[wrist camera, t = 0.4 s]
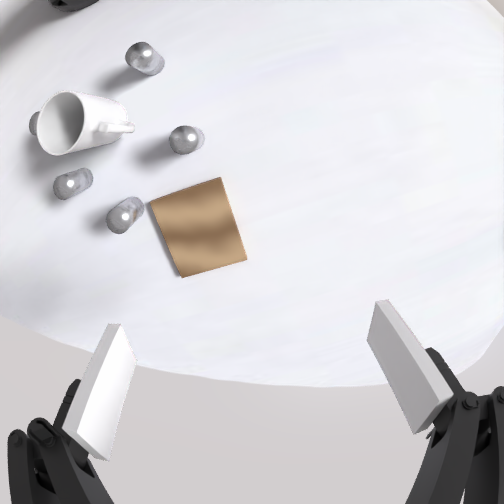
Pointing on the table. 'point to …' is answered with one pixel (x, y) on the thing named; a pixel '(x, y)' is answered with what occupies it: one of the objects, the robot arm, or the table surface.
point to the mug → (80, 122)
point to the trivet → (199, 228)
